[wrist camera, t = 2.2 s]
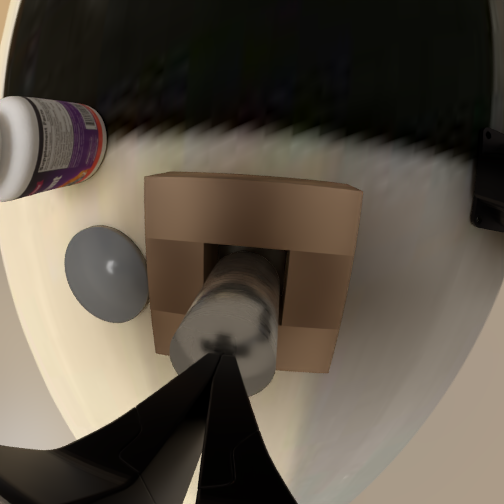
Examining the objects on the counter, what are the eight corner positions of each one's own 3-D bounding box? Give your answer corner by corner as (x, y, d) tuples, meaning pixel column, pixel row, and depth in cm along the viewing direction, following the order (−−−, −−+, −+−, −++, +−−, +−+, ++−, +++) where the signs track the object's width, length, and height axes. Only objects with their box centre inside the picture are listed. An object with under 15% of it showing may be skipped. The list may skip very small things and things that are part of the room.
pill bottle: (50, 184, 18) (-58, 214, 8) (52, 110, 16) (-57, 108, 7) (108, 183, 17) (-12, 217, 8) (112, 100, 15) (-8, 79, 6)
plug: (283, 254, 14) (281, 322, 8) (276, 318, 15) (270, 404, 9) (210, 248, 14) (165, 309, 9) (210, 311, 15) (174, 390, 10)
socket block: (347, 184, 16) (363, 191, 12) (322, 339, 19) (328, 373, 16) (170, 171, 17) (144, 176, 13) (174, 323, 20) (155, 353, 16)
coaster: (147, 228, 18) (143, 231, 17) (154, 326, 20) (151, 330, 19) (64, 223, 18) (59, 225, 18) (77, 310, 20) (73, 313, 20)
